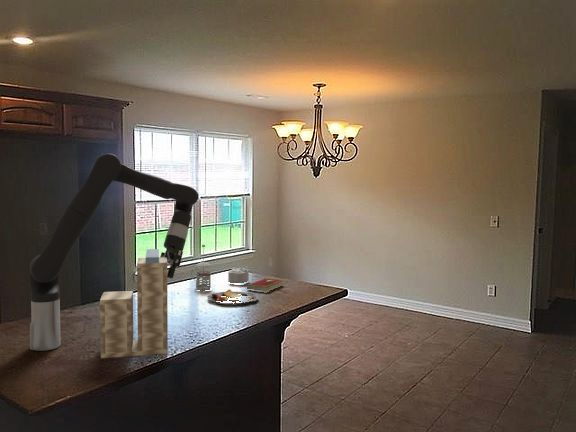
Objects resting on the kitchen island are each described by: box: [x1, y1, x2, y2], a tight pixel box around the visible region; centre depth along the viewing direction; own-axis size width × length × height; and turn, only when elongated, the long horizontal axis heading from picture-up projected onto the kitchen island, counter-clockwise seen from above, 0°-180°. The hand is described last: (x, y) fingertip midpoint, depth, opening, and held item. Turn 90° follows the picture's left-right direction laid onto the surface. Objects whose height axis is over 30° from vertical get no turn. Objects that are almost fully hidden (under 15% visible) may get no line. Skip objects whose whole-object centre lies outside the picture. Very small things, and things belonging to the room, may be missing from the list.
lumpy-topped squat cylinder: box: [227, 267, 250, 283], centre depth 294 cm, size 10×13×9 cm
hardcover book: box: [246, 277, 284, 291], centre depth 281 cm, size 12×21×4 cm, turn 155°
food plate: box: [206, 289, 259, 306], centre depth 252 cm, size 25×23×4 cm
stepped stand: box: [99, 256, 169, 359], centre depth 177 cm, size 22×12×32 cm, turn 104°
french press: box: [190, 244, 212, 291], centre depth 274 cm, size 10×12×25 cm
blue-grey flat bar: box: [145, 248, 160, 263], centre depth 181 cm, size 4×20×2 cm, turn 14°
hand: (164, 278), depth 186 cm, fingers open, 8 cm apart
